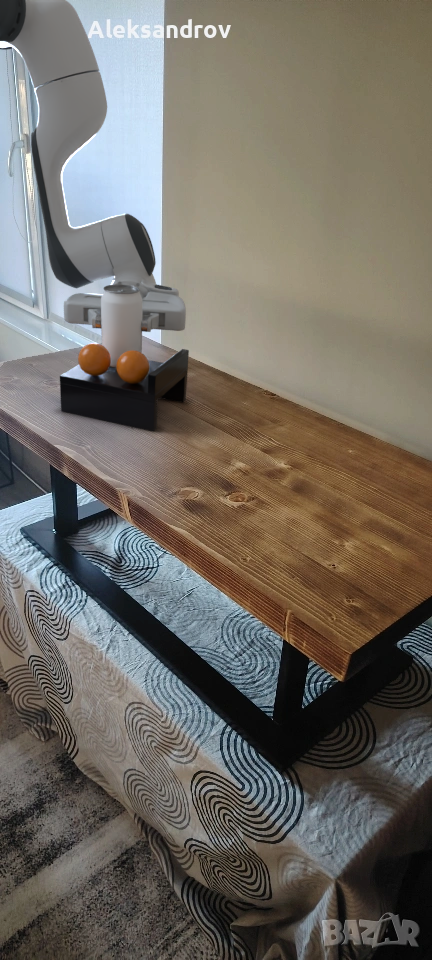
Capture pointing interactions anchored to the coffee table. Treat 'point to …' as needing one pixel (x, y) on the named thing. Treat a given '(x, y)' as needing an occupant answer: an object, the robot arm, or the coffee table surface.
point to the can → (121, 320)
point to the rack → (122, 386)
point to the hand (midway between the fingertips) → (121, 325)
